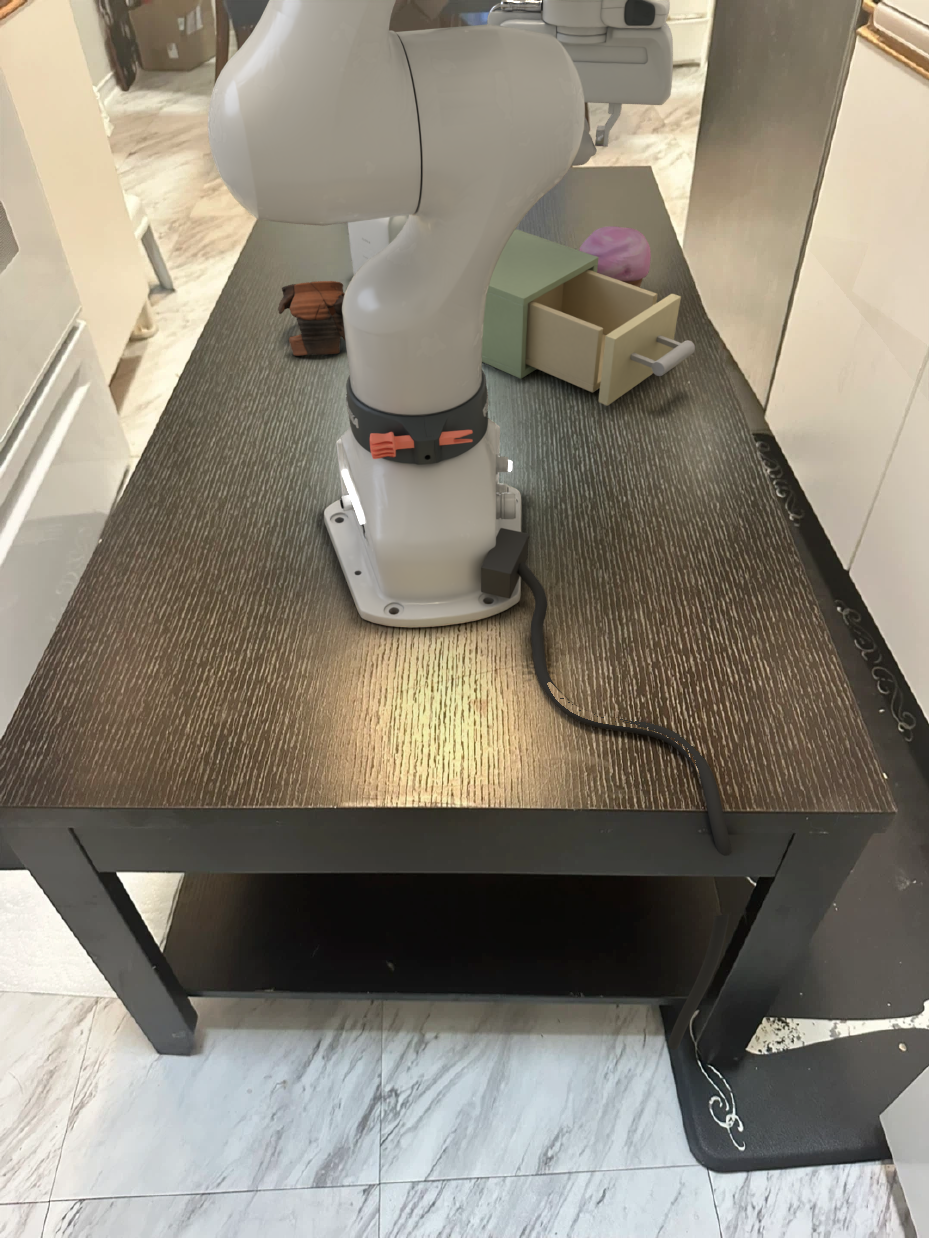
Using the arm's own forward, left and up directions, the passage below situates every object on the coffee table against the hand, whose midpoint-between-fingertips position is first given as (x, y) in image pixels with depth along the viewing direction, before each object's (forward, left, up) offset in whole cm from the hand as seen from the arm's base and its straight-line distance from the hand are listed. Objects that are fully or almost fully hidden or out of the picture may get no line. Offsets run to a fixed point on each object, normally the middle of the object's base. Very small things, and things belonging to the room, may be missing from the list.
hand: (575, 144), depth 102 cm
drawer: (-20, 0, -17) cm, 26 cm away
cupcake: (-4, -5, -19) cm, 20 cm away
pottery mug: (-7, +31, -19) cm, 37 cm away
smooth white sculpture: (0, 0, -2) cm, 2 cm away
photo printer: (+6, +23, -19) cm, 30 cm away
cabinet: (-9, +10, -18) cm, 22 cm away
